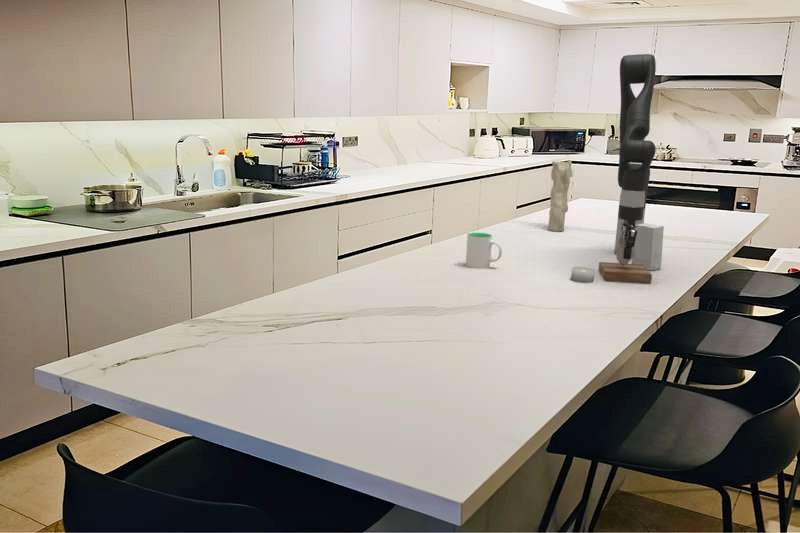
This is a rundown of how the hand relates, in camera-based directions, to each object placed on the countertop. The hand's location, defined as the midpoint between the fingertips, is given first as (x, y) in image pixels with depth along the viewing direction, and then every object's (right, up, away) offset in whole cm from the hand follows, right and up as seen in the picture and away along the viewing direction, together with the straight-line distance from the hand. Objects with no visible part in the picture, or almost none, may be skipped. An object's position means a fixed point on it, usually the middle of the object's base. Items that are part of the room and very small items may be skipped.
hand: (625, 257), depth 236 cm
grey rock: (0, -3, +1) cm, 3 cm away
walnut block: (0, -6, +1) cm, 7 cm away
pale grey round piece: (-15, -7, -4) cm, 17 cm away
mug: (-45, -3, +10) cm, 46 cm away
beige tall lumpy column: (-5, +12, +79) cm, 80 cm away
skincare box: (+11, -4, +16) cm, 20 cm away
